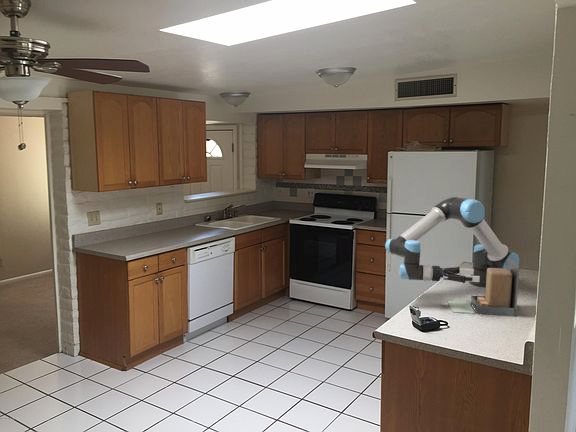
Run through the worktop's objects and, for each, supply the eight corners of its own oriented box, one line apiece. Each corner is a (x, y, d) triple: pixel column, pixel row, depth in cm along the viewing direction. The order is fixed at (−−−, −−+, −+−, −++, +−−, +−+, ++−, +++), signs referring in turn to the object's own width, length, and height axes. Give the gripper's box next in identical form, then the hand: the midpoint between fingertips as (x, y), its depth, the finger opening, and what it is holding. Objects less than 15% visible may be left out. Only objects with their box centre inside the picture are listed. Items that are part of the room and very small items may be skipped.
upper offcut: (476, 301, 253) (477, 296, 252) (483, 301, 252) (483, 297, 252) (481, 308, 242) (481, 303, 242) (488, 308, 241) (488, 304, 241)
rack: (470, 303, 256) (473, 257, 252) (506, 304, 254) (509, 258, 250) (478, 314, 239) (481, 265, 236) (515, 316, 237) (519, 267, 233)
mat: (447, 302, 257) (447, 301, 257) (468, 303, 256) (468, 302, 256) (453, 312, 242) (453, 311, 242) (474, 313, 240) (474, 312, 240)
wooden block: (510, 314, 240) (513, 273, 237) (487, 312, 242) (490, 272, 239) (505, 307, 250) (508, 268, 247) (484, 305, 252) (486, 267, 249)
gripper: (427, 274, 261) (470, 276, 258) (434, 287, 236) (481, 290, 233) (428, 260, 260) (471, 262, 257) (435, 272, 235) (482, 274, 232)
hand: (476, 275), depth 245 cm, fingers open, 13 cm apart
